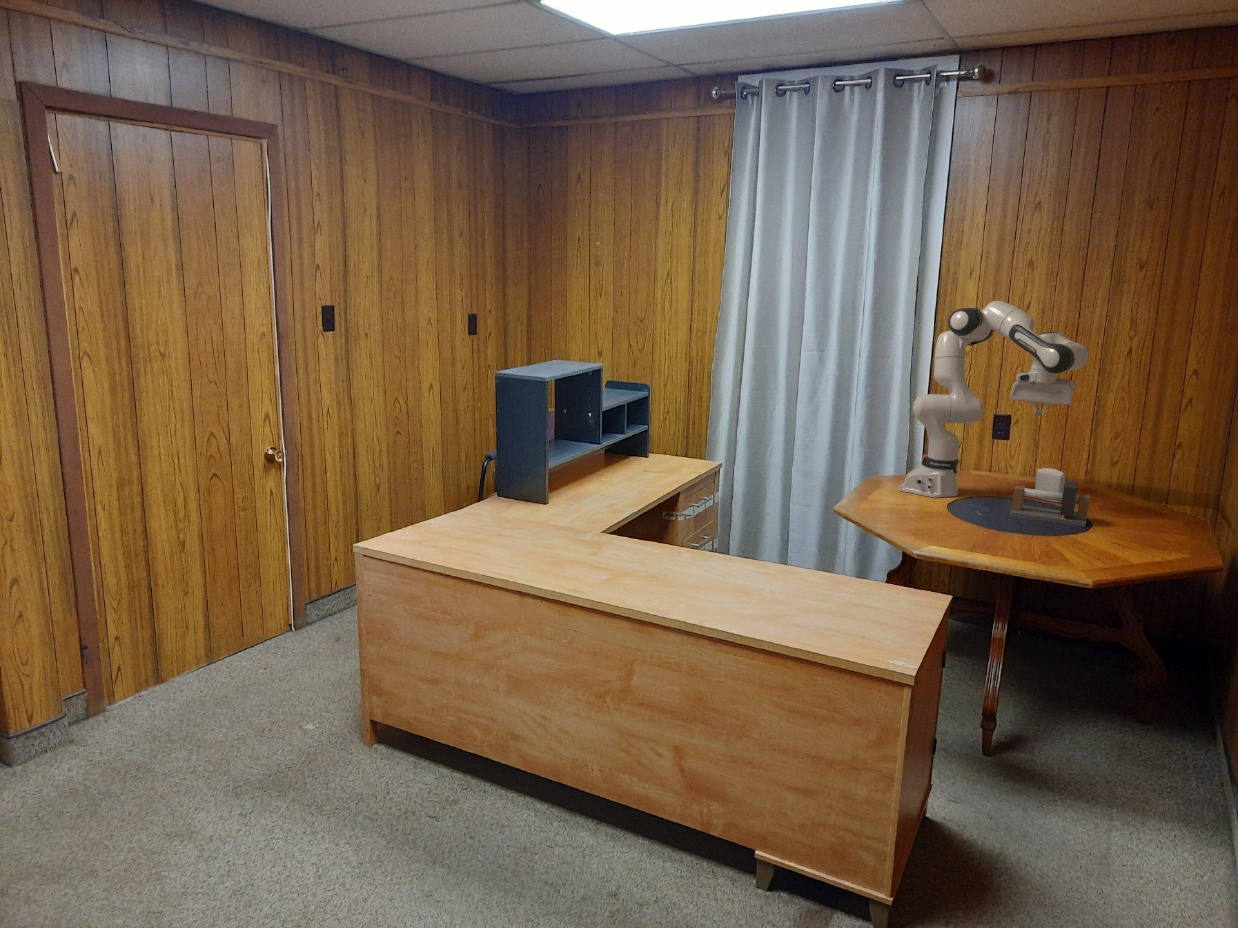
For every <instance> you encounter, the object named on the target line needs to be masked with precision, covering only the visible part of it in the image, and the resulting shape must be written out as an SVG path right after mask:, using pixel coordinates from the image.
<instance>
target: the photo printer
mask: <svg viewBox="0 0 1238 928" xmlns="http://www.w3.org/2000/svg"><path fill="white" fill-rule="evenodd" d="M1065 481H1066V475H1065V473H1064V472H1063V471H1061V470H1058V469H1055V468H1051V467H1043V468H1038V469H1037V472H1036V477H1035V483H1034V484H1035V485H1034V489H1035V490H1042V491H1050V492H1058V493H1063V489H1064V485H1065ZM1037 499H1039V498H1037ZM1039 500H1040V499H1039ZM1042 500H1043V501H1048V502H1053V503H1058V504H1059V503H1062V501H1054V500H1047V499H1042Z"/></svg>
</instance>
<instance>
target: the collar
mask: <svg viewBox="0 0 1238 928" xmlns="http://www.w3.org/2000/svg"><path fill="white" fill-rule="evenodd" d="M1078 486H1079V482H1078V481H1077V482H1076V481H1072V480H1070V481H1069V480H1065V481H1064V489H1063V497H1062V502H1061V504H1060V505H1061V506H1060V510H1059V511H1060V514H1061V515H1068V516H1073V513H1075V507H1076V506H1075V505H1076V503H1075V498H1076V495H1077V492H1078Z"/></svg>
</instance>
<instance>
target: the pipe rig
mask: <svg viewBox="0 0 1238 928" xmlns="http://www.w3.org/2000/svg"><path fill="white" fill-rule="evenodd" d="M1090 496H1091V495H1090V494H1085V493H1080V494H1079V495H1078V494H1076V498H1075V505H1076V504H1078V506H1077V512H1074V513H1073V516H1068V515H1061V514H1060V511H1061V510H1057V509H1052V508H1051V509H1049V508H1042V507H1037V506H1036V507H1035V506H1029V505H1023V503H1024V497H1025V498H1033V499H1038V498H1039V500H1043V499H1047V500H1046V501H1048V500H1054V501H1062V497H1063V493H1058V492H1050V491H1042V490H1035V488H1033V489H1032V488H1026V487H1025V486H1024V485H1023V486H1022V485H1015V486H1014V489H1013V496H1012V502H1011V503H1012V505H1011V510H1010V513H1009V517H1012V516H1013V517H1012V518H1019V519H1027V520H1033V521H1040V522H1047V521H1048V523H1055V524H1062V525H1069V526H1074V525H1075V526H1076V527H1083V528H1086V524H1087V517H1088V511H1089V504H1090Z"/></svg>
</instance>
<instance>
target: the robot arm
mask: <svg viewBox="0 0 1238 928" xmlns="http://www.w3.org/2000/svg"><path fill="white" fill-rule="evenodd" d="M947 324H948V328H949V330H947V331H943V332H942V333H940V334H939V336H938V337H937V341H936V344H935V348H934V349H935V350H934V359H933V360H934V361H933V362H934V363H933V379H934V381H935V382H936V383H937V384H939V385H940V386H942V387H944V388H945V389H946V390H947V391H948V393H949V394H943V393H942V394H941V393H940V394H937V393H928V394H924V395H923V394H922V395H919V396H918V397H916V398H915V400H914V402H913V404H912V413H913V416H914V417H915V419H916V420H918V421H919V422H920V423H921V424H922V425H923V426H924V429H925V430H926V434H927V437H928V446H927V447H928V449H927V450H928V451H927V454H924V455H923V456H922V457H921V464H920V465H919V466H917V467H915V468H913V469H912V470H910V471H908V472H907V475H906V476H905V479H904V482H901V483H899V485H898V487H897V489H898V491H900V492H903V493H909V494H914V495H920V496H925V497H929V498H937V499H938V498H949V497H957V496H958V495H959V491H958V490H959V489H958V484H957V474H958V471H959V461H960V460H959V458H958V457H959V451H960V450H959V448H960V440H959V437H958V436H957V435H956V434H955V433H953V432H951V431H950V430H947V429H946V428H945V424H960V425H961V424H973V423H976V422H978V421H979V420H980V419H981V418H982V416H983V413H984V405H983V401H982V400H981V399H980V398H979V397H978V396H976V395H975V394H974V393H973V392H972V390H971V389H970V387H969V386H968V383H967V381H966V374H965V373H966V369H965V363H966V362H965V361H966V360H965V359H966V358H965V357H966V348H967V346H969V347H972V346H975V345H977V344H981V343H983V342H986V341H988V340H989V339H991V338H992V336H993V335H994V333H995V332H996V333H998V334H999V335H1001V336H1002V337H1004V338H1006V339H1008V340H1009V341H1012V342H1013V343H1015V344H1016V345H1017V346H1018V347H1020V348H1021V349H1022V350H1024V351H1026V353H1028V354H1030V355H1031V356H1032V364H1031V366H1030V370H1029V371H1024V372H1021V373H1018V374H1017V375H1016V379H1015V380H1016V381H1015V382H1013V384H1012V387H1011V390H1010V396H1009V398H1010V400H1011V401H1017V402H1026V403H1027V402H1030V403H1031V406H1032V409H1033V410H1034V414H1033V415H1036V416H1043V415H1044V411H1045V410H1046V408H1047V407H1048V406H1049V404H1052V405H1063V406H1064V405H1065V406H1069V405H1070V404H1072V402H1073V391H1074V390H1075V388H1076V382H1075V381H1074V380H1072V379H1071V378H1062V377H1058V374H1061V373H1064V372H1071V371H1077V370H1080V369H1082V368H1083V367H1085V366H1086V365H1087V364H1088V361H1089V359H1090V354H1089V350H1088V348H1087V347H1086V346H1085V345H1084V344H1081V343H1078V342H1076V341H1073V340H1071V339H1069V338H1067V337H1065V336H1064V335H1063V334H1062V333H1061V332H1059V331H1050V332H1048V331H1047V332H1041V333H1039V334H1036V333H1035V332H1034V329H1035V327H1036V326H1035V319H1034V318H1033V317H1032V316H1031V315H1030V314H1029V313H1027V312H1026V311H1024V310H1023V309H1021V308H1019V307H1017V306H1015V305H1013V304H1010V303H1008V302H1006V301H1002V300H993V301H991V302H989V303H987V305H986V306H985V307H984V308H983V309H982V310H980V308H978V307H963V308H962V307H961V308H958V309H954V311H953V312H952V313H951V314H950V315H949V317H948V321H947ZM1039 403H1041V404H1042V406H1043V407H1042V409H1038V408H1037V406H1036V405H1038V404H1039Z"/></svg>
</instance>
